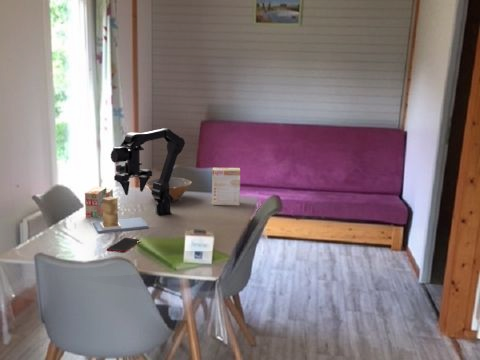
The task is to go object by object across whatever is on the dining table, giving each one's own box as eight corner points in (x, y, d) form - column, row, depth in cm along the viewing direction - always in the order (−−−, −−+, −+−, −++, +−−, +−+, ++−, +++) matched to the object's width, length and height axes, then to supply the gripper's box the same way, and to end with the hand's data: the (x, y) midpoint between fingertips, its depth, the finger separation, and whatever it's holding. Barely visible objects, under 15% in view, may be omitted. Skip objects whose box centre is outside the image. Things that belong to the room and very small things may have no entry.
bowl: (174, 191, 285) (174, 175, 283) (200, 200, 268) (200, 182, 266) (137, 198, 269) (137, 180, 267) (162, 207, 251) (162, 189, 249)
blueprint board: (140, 219, 230) (140, 214, 229) (148, 227, 217) (148, 223, 217) (93, 224, 220) (92, 219, 220) (98, 233, 208) (98, 228, 208)
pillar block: (111, 224, 217) (110, 196, 214) (118, 226, 214) (117, 198, 212) (103, 226, 213) (102, 198, 211) (110, 228, 211) (109, 200, 208)
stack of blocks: (101, 205, 251) (101, 182, 249) (113, 206, 251) (113, 183, 248) (85, 217, 230) (84, 192, 228) (98, 218, 230) (97, 193, 227)
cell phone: (106, 251, 189) (105, 249, 188) (124, 239, 202) (124, 237, 202) (123, 254, 187) (123, 251, 186) (141, 241, 200) (141, 239, 200)
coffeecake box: (239, 202, 266) (240, 167, 262) (239, 205, 259) (240, 170, 255) (212, 201, 266) (212, 166, 262) (211, 205, 259) (212, 169, 255)
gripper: (136, 156, 234) (137, 187, 238) (105, 160, 219) (106, 194, 223) (152, 158, 228) (153, 190, 231) (122, 163, 213) (123, 198, 217)
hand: (134, 193), depth 226 cm, fingers open, 9 cm apart
